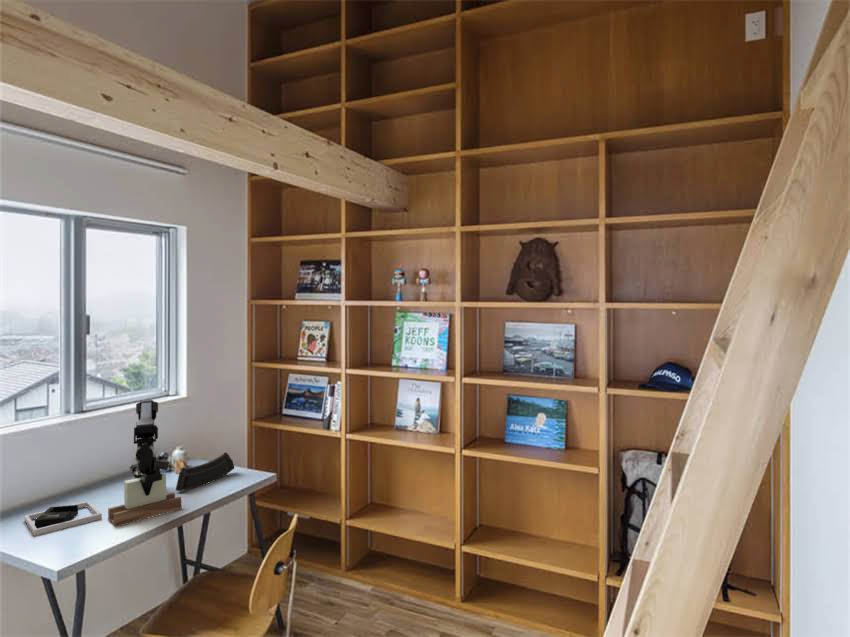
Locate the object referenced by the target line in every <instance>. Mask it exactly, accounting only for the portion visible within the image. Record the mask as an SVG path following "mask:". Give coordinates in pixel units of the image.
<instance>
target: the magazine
mask: <svg viewBox="0 0 850 637" xmlns="http://www.w3.org/2000/svg"><path fill="white" fill-rule="evenodd" d="M234 469H235V465H234V461H233V460H232V458H231V456H230V454H229V453H228V452H223V454H221V455H220V456H218V457H216V458H214V459H213V460H210V461H207V462H205V463H202V464H198V465H196V466H195V465H194V466H191V467H181V470H180V472H179V473H178V478H177V482H176V486H175V491H178V492H182V491H186V490H190V489H195V488H199V487H202V486H204V485H203V484H205V485H207V484H206V483H208V482H211V481H213V480H215V481H217V480H218V479H221V478H222V477H224V476H227V475H228V474H229V473H230V472H232V471H233V470H234ZM226 474H227V475H226ZM216 479H217V480H216ZM213 482H214V481H213ZM211 483H212V482H211ZM208 484H209V483H208ZM201 485H202V486H201ZM198 486H199V487H198Z"/></svg>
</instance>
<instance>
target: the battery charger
mask: <svg viewBox="0 0 850 637" xmlns="http://www.w3.org/2000/svg"><path fill="white" fill-rule="evenodd" d="M69 505H70V506H69ZM69 505H61V506H59V505H58V506H50V507H48V508H47V509H46V510H44V511H45V512H44V513H43V514H42V515H40V516H39V517H38V518H37V519H35V520H34V525H35V527H36V528H37V529H38V528H42V527H46V526H50V525H54V524H58V523H62V522H66V521H70V520H74V518H75V517H76V516H77V515H78V514H79V509H78V505H73V504H69ZM74 516H75V517H74Z"/></svg>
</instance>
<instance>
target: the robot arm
mask: <svg viewBox="0 0 850 637" xmlns="http://www.w3.org/2000/svg"><path fill="white" fill-rule="evenodd" d="M135 407H136V408H135V413H136V414H137V416H138V417H137V418H138V420H137V421H136V424H135V426H134V428H133V444H136V453H135V461H136V463H135V464H131V466H130V467H129V473H130V474H133V479H136V478H141V477H142V480H140V483H141V485H142V488H143V490H144V493H145V495H146V496H148V495H149V494H150V490H151V487H152V484H153V482H155V481H159V480H162V474H161V473H162V472H161V470H164V471H167V470H168V468H169V466H170V464H171V463H170V461H169V460H166V459H164V457H163V456H162V455H157V456H156V454H155V453H154V450H155V449H154V448H155V447H154V446H155V444H154V443H156V442H157V440H158V439H159V428H158V425H156V424H155V420H156V419H157V413H159V402H157V401H154V400H152V399H143V400H139V402H138V403H136V404H135ZM134 473H135V474H134Z"/></svg>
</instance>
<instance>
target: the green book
mask: <svg viewBox="0 0 850 637" xmlns="http://www.w3.org/2000/svg"><path fill="white" fill-rule="evenodd" d="M160 473H161V474H162V480H159V481H155V482H153V484H152V487H151V490H150V494H149V495H148V496H146V495H145V493H144V490H143V488H142V485H141V483H140V480H142V477H141V478H136V479H135V478H132V479H128V480H124V489H123V490H124V504H125V507H126V508H127V509H130V508H134V507H138V506H142V505H146V504H150V503H154V502H158V501H162V500H166V494H167V474H165V473H164V472H160Z"/></svg>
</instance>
